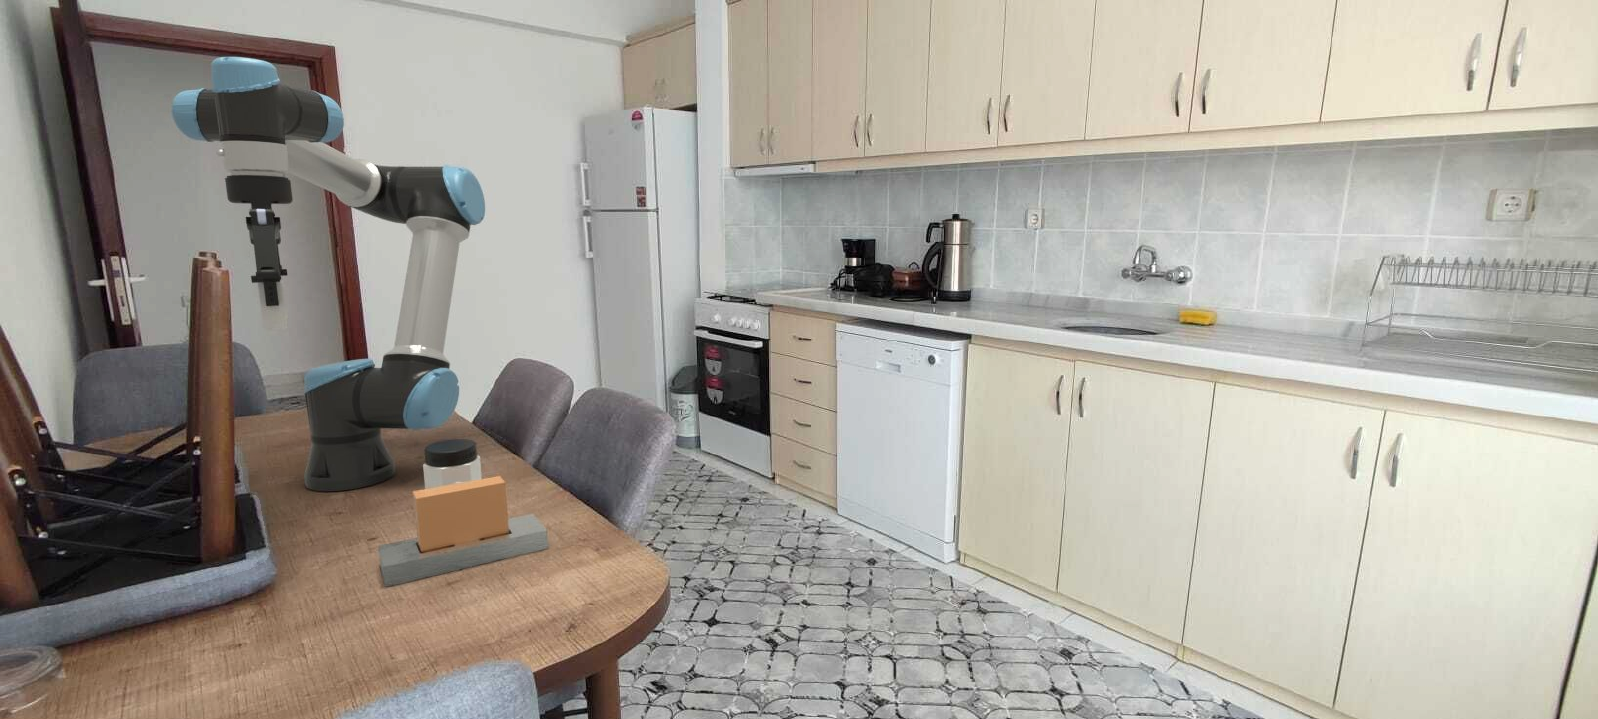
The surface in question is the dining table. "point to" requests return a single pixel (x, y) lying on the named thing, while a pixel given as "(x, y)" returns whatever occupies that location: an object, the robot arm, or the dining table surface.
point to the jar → (451, 463)
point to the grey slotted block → (460, 552)
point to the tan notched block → (460, 513)
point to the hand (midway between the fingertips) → (276, 324)
